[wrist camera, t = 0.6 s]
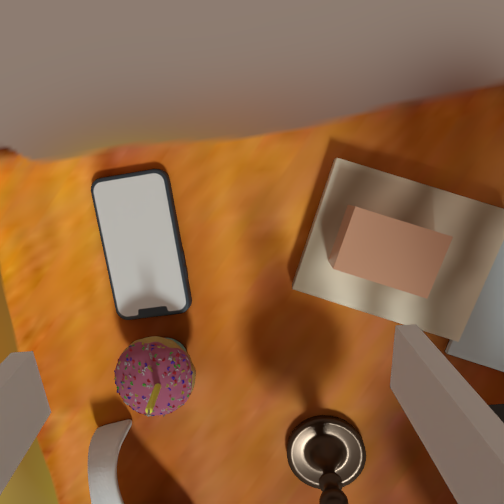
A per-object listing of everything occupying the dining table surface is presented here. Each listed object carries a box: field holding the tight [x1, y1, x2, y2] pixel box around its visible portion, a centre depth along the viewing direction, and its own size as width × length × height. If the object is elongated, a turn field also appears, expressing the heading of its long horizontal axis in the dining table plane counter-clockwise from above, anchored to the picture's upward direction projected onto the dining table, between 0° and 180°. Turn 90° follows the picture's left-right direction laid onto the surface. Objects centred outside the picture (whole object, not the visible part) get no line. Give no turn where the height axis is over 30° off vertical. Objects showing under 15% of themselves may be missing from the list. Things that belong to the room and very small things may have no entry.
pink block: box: [328, 205, 453, 299], centre depth 36 cm, size 9×6×4 cm, turn 73°
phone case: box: [91, 169, 192, 320], centre depth 41 cm, size 9×2×16 cm
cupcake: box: [114, 336, 196, 416], centre depth 38 cm, size 9×8×12 cm
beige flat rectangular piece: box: [292, 158, 504, 342], centre depth 39 cm, size 18×14×2 cm
